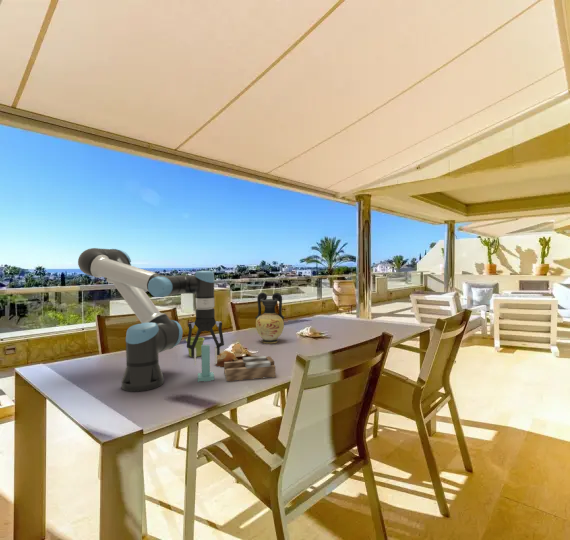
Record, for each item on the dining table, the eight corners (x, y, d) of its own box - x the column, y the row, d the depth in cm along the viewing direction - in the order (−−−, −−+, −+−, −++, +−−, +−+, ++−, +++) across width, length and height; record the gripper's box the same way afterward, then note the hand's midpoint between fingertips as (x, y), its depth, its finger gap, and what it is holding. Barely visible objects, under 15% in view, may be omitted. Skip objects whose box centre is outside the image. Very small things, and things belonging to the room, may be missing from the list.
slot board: (226, 381, 139) (226, 366, 139) (224, 372, 151) (224, 358, 151) (275, 377, 144) (275, 362, 144) (269, 368, 156) (269, 355, 156)
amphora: (283, 338, 220) (283, 291, 220) (285, 344, 203) (285, 293, 203) (255, 339, 219) (255, 291, 219) (255, 345, 202) (254, 293, 202)
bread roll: (228, 368, 170) (222, 352, 171) (243, 362, 165) (237, 346, 167) (214, 373, 161) (208, 357, 163) (229, 367, 156) (223, 350, 158)
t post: (197, 381, 139) (197, 348, 139) (197, 377, 145) (197, 344, 145) (214, 380, 141) (213, 347, 140) (213, 375, 147) (213, 343, 147)
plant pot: (207, 353, 184) (206, 337, 184) (201, 358, 174) (200, 341, 174) (190, 353, 185) (189, 337, 185) (183, 358, 175) (182, 340, 175)
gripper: (178, 310, 136) (179, 368, 137) (231, 308, 142) (231, 364, 142) (179, 308, 144) (180, 363, 144) (229, 306, 149) (229, 359, 149)
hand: (205, 363), depth 143 cm, fingers open, 8 cm apart
